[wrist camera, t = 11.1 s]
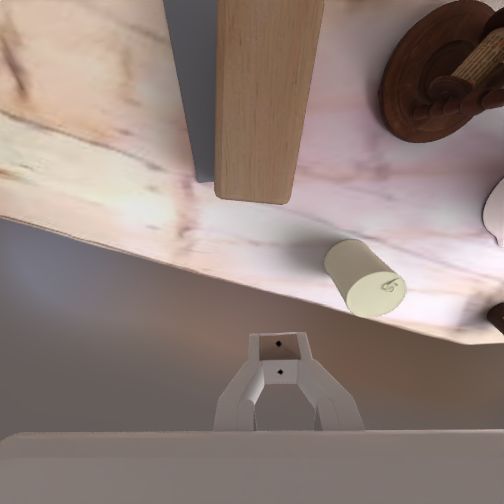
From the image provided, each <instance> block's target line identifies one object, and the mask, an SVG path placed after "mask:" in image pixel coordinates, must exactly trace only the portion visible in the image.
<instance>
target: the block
mask: <svg viewBox="0 0 504 504" xmlns="http://www.w3.org/2000/svg"><path fill="white" fill-rule="evenodd" d="M323 10H324V0H217V22H216V96H215V171H214V191H215V194H216V196H217V197H219V198H221V199H226V200H237V201H247V202H257V203H268V204H278V205H283V204H286V203H288V201H289V199H290V197H291V191H292V186H293V180H294V174H295V169H296V163H297V157H298V152H299V146H300V140H301V135H302V129H303V123H304V117H305V112H306V106H307V100H308V95H309V89H310V83H311V78H312V72H313V66H314V61H315V55H316V49H317V44H318V38H319V32H320V27H321V21H322V15H323Z"/></svg>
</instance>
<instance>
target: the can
mask: <svg viewBox="0 0 504 504" xmlns="http://www.w3.org/2000/svg"><path fill="white" fill-rule="evenodd" d="M324 267H325V270H326V272H327V273H328V274H329V275H330V277H331V278H332V280H333V282H334V283H335V285H336V287H337V289H338V290H339V292H340V294H341V296H342V298H343V299H344V301H345V303H346V306H347V308H348V309H349V310H350V311H351V312H352V313H353V314H355V315H357V316H359V317H364V318H374V317H379V316H382V315H385V314H387V313H389V312H391V311H392V310H394V309H395V308H396V307H397V306H399V304H400V303H401V302H402V301H403V299H404V297H405V295H406V283H405V281H404V280H403V278H402V277H401V276H400V275H398V274H397V273H395V272H394V271H393V270H392V269H391V268H390V267H389V266H387V265H386V264H385V263H384V262H383V261H382V260H381V259H380V258H379V257H378V256H376V255H375V254H374V253H373V252H372V251H371V250H370V249H369V247H368V246H367V245H366V244H365V243H363V242H361V241H359V240H353V239H350V240H344V241H341V242H339V243H337V244H336V245H334V246H333V247H332V248H331V249H330V250H329V251H328V253H327V254H326V256H325V260H324Z"/></svg>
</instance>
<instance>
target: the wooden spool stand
mask: <svg viewBox="0 0 504 504" xmlns="http://www.w3.org/2000/svg"><path fill="white" fill-rule="evenodd" d="M503 62H504V7H503V8H501V9H500V10H498V11H497V12H495V11H494V10H493V9H492V8H491V7H489V6H488V5H487V4H485V3H483V2H480V1H476V0H459V1H454V2H451V3H448V4H445V5H443V6H441V7H439V8H437V9H436V10H434V11H432V12H431V13H430V14H428V15H427V16H425V17H424V18H423V19H421V20H420V21H419V22H417V23H416V24H415V25H414V26H413V27H412V28H411V29H410V30H409V31H408V32H407V33H406V34H405V36H404V37H403V38H402V39H401V41H400V42H399V43H398V45H397V46H396V48H395V49H394V51H393V53H392V55H391V57H390V58H389V61H388V63H387V65H386V68H385V70H384V73H383V77H382V80H381V85H380V90H379V91H378V95H379V105H380V112H381V116H382V119H383V121H384V123H385V125H386V127H387V128H388V130H389V131H390V132H391V133H392V134H393V135H394V136H396V137H397V138H399V139H401V140H403V141H406V142H412V143H426V142H432V141H436V140H439V139H442V138H444V137H446V136H448V135H450V134H452V133H454V132H455V131H457V130H458V129H460V128H461V127H462V126H464V125H465V124H466V123H467V122H468V121H469V120H470V119H472V117H473V116H475V115H478V114H480V113H482V112H483V111H485V110H487V109H493V108H497V107H502V106H504V63H503Z"/></svg>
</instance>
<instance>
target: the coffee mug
mask: <svg viewBox="0 0 504 504" xmlns="http://www.w3.org/2000/svg"><path fill="white" fill-rule="evenodd" d="M487 319H488V321H489V322H490V323H492V324H493V325H494V326H495V327H496V328H497V329H498V330H499V331H500V332H501V333H502V334H503V335H504V303H501V304H498V305H496V306H495V307H493V308H492V309H491V310H490V311H489V312H488V314H487Z"/></svg>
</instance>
